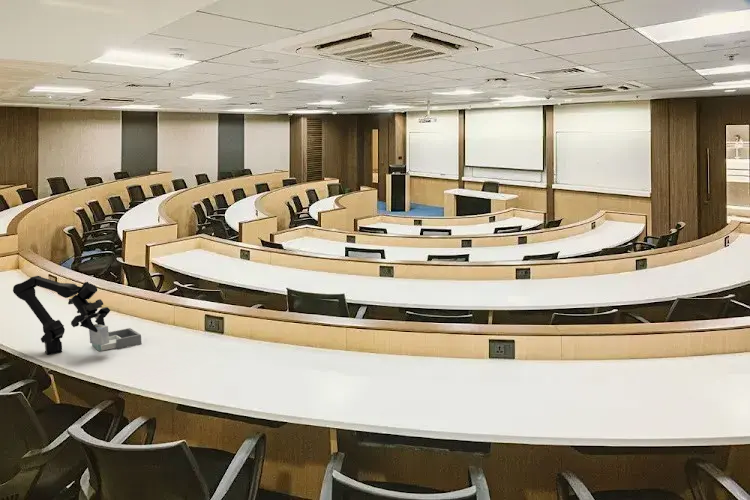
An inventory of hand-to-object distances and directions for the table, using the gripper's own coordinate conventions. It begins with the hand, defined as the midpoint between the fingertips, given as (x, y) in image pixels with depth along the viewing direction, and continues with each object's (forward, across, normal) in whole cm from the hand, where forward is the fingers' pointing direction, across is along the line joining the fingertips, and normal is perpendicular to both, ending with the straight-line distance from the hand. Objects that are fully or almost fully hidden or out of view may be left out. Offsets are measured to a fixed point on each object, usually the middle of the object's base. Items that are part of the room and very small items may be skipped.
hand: (101, 330), depth 267 cm
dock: (+5, +20, +15) cm, 25 cm away
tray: (+2, +13, +17) cm, 22 cm away
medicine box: (+4, 0, +6) cm, 7 cm away
